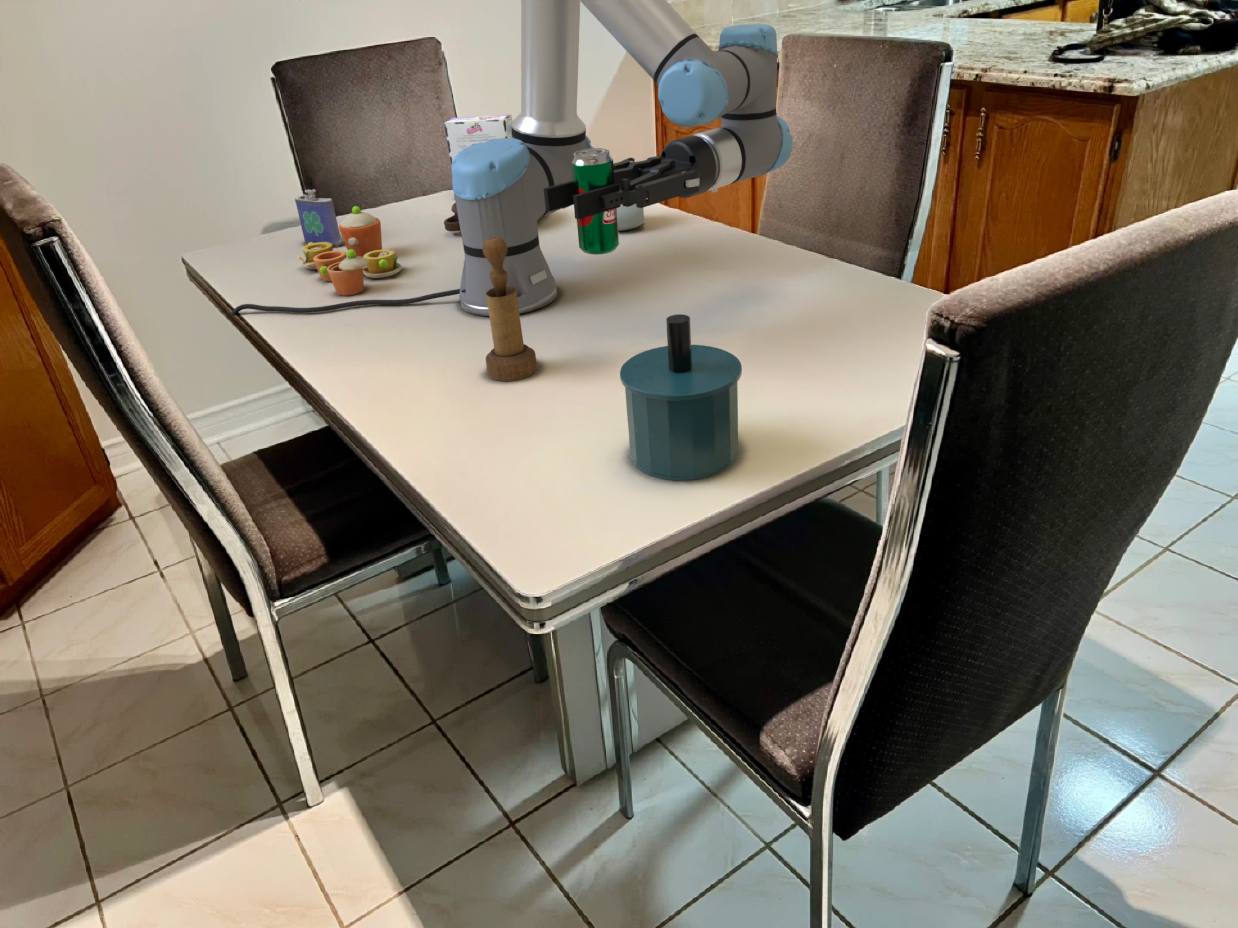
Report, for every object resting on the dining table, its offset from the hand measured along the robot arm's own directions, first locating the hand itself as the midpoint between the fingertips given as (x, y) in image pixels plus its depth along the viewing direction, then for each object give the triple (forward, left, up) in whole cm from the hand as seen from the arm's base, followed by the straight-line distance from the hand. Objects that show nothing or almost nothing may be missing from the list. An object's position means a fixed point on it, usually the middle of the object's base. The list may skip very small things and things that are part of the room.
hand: (561, 203), depth 112 cm
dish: (-47, +57, -22) cm, 77 cm away
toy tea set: (-58, +26, -22) cm, 68 cm away
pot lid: (+22, -16, -12) cm, 30 cm away
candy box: (-63, +78, -22) cm, 103 cm away
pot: (+22, -16, -22) cm, 35 cm away
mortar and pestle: (-9, -3, -22) cm, 24 cm away
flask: (-77, +39, -22) cm, 89 cm away
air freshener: (-22, +61, -22) cm, 69 cm away
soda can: (+2, +5, -7) cm, 9 cm away
